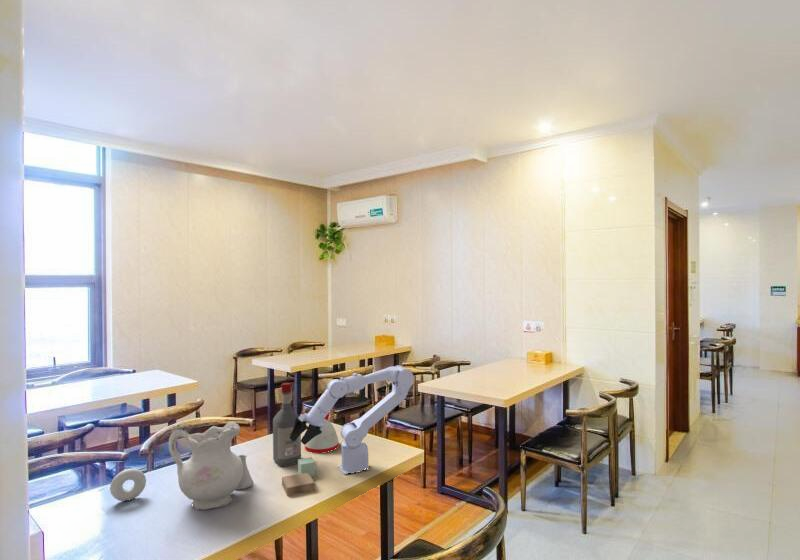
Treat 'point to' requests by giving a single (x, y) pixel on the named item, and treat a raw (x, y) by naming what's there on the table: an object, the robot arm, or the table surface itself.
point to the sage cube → (306, 466)
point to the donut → (126, 475)
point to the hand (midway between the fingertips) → (297, 441)
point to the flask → (245, 475)
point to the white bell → (323, 439)
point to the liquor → (285, 432)
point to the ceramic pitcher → (208, 465)
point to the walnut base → (297, 483)
